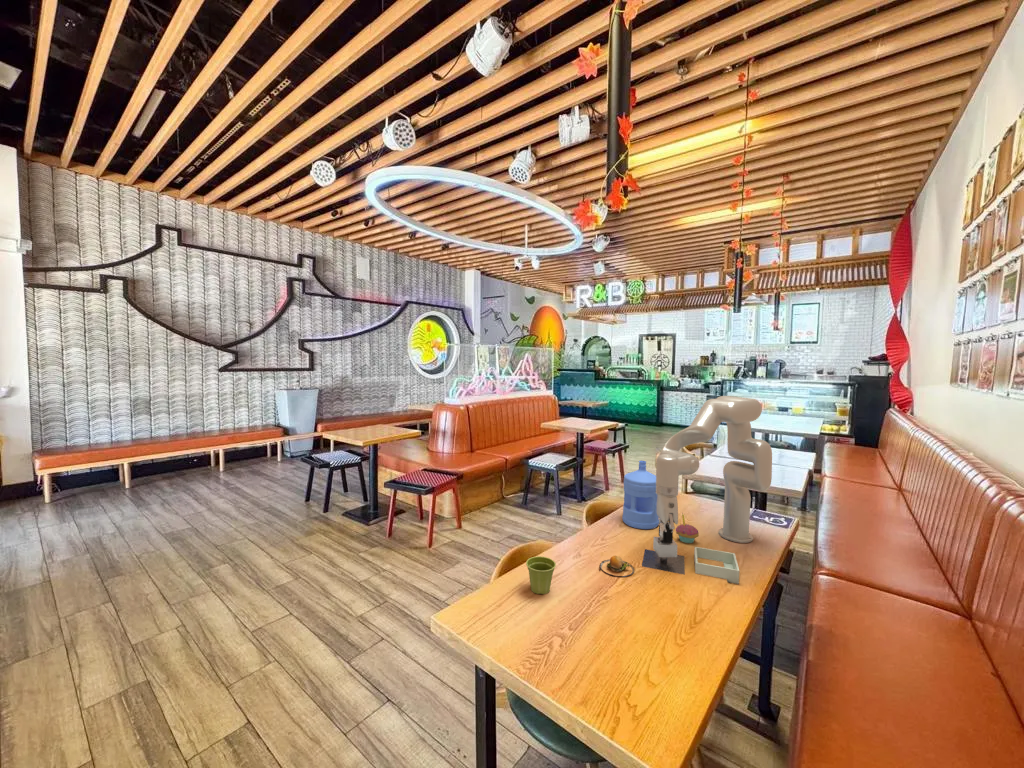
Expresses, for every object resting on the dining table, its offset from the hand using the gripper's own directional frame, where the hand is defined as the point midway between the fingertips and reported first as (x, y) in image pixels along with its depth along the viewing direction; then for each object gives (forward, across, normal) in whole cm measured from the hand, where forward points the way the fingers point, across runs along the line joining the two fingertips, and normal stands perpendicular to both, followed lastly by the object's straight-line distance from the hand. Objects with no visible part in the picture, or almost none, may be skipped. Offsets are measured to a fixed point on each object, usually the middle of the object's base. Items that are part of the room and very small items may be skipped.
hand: (665, 538), depth 151 cm
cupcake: (+10, +18, -14) cm, 25 cm away
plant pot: (+9, -19, +46) cm, 50 cm away
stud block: (+9, 0, 0) cm, 9 cm away
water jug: (+10, +36, -1) cm, 38 cm away
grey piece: (+5, 0, 0) cm, 5 cm away
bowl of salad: (+9, -6, +19) cm, 22 cm away
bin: (+9, -4, -16) cm, 19 cm away
